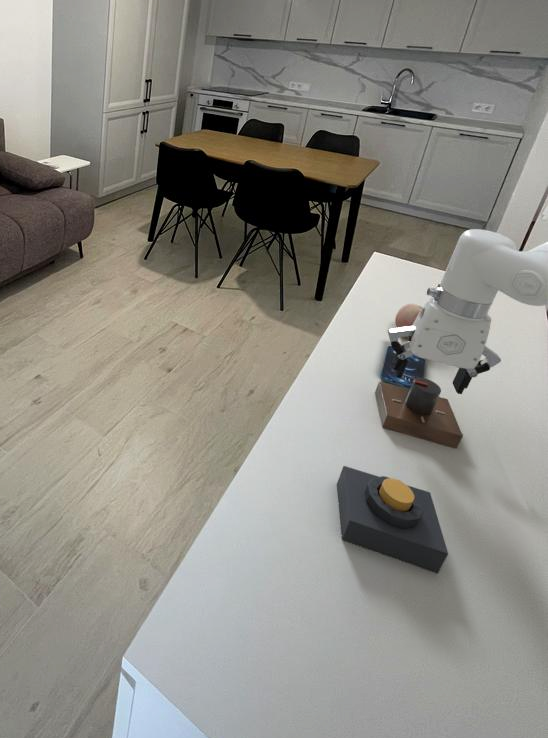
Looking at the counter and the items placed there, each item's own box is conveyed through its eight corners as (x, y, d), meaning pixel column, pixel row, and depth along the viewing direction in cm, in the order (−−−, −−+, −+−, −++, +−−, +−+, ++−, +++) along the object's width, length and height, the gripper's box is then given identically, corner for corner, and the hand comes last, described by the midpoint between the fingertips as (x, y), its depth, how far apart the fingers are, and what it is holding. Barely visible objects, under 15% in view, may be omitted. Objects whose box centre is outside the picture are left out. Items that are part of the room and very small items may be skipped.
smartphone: (426, 357, 111) (422, 393, 99) (425, 359, 111) (421, 396, 100) (388, 344, 115) (379, 377, 103) (387, 346, 115) (379, 379, 103)
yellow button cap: (407, 492, 72) (411, 483, 71) (413, 515, 68) (417, 507, 68) (377, 482, 73) (380, 474, 72) (381, 505, 69) (384, 496, 69)
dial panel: (442, 410, 96) (447, 398, 95) (457, 448, 88) (463, 435, 86) (374, 392, 100) (379, 380, 99) (382, 427, 91) (387, 414, 90)
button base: (421, 511, 75) (434, 483, 73) (437, 574, 67) (453, 544, 64) (336, 484, 79) (346, 456, 77) (341, 540, 70) (353, 511, 68)
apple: (426, 349, 115) (438, 320, 112) (390, 337, 119) (400, 308, 115) (426, 333, 121) (437, 305, 118) (391, 322, 125) (401, 294, 122)
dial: (428, 402, 94) (438, 380, 92) (434, 418, 90) (444, 395, 88) (403, 395, 95) (411, 373, 93) (407, 410, 91) (416, 388, 89)
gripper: (409, 299, 83) (377, 379, 90) (531, 326, 78) (488, 409, 85) (400, 279, 89) (371, 355, 96) (513, 303, 84) (474, 382, 91)
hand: (426, 381), depth 90 cm, fingers open, 9 cm apart
